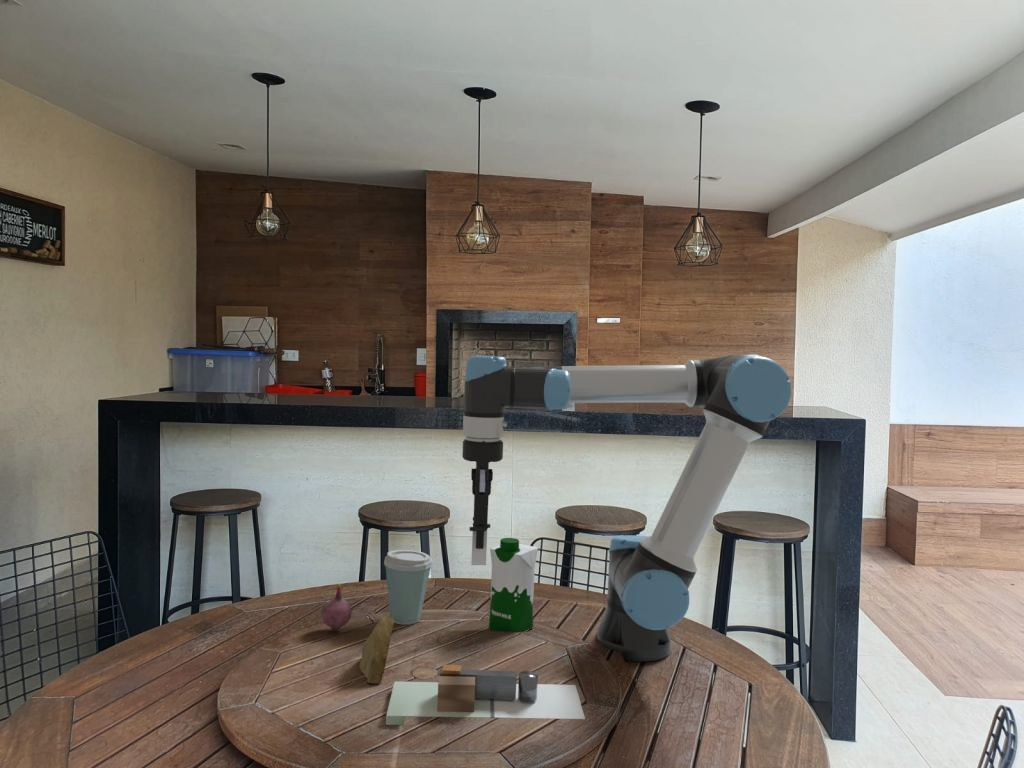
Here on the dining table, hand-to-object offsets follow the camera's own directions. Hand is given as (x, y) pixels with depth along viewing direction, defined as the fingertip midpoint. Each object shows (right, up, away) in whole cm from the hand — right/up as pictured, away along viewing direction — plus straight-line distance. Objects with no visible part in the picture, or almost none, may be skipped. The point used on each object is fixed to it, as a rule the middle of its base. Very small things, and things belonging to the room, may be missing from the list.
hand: (478, 563), depth 139 cm
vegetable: (-31, -18, +17) cm, 40 cm away
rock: (-20, -20, -2) cm, 28 cm away
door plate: (+2, -21, -13) cm, 25 cm away
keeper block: (-3, -20, -17) cm, 26 cm away
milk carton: (+6, -20, +22) cm, 30 cm away
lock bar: (+2, -19, -13) cm, 23 cm away
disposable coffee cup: (-17, -19, +25) cm, 35 cm away
